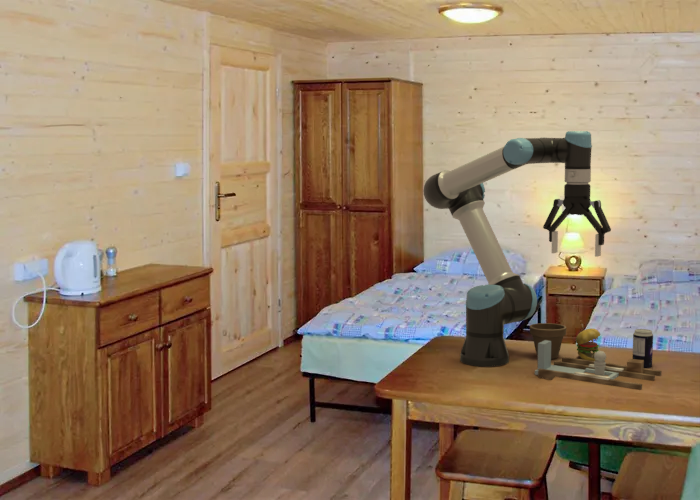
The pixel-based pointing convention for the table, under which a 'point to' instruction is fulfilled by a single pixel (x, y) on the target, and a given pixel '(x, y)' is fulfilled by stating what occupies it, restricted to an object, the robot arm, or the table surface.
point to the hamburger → (587, 343)
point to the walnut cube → (635, 365)
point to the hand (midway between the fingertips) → (575, 254)
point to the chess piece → (599, 363)
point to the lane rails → (583, 364)
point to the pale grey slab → (545, 363)
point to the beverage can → (643, 346)
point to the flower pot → (548, 336)
